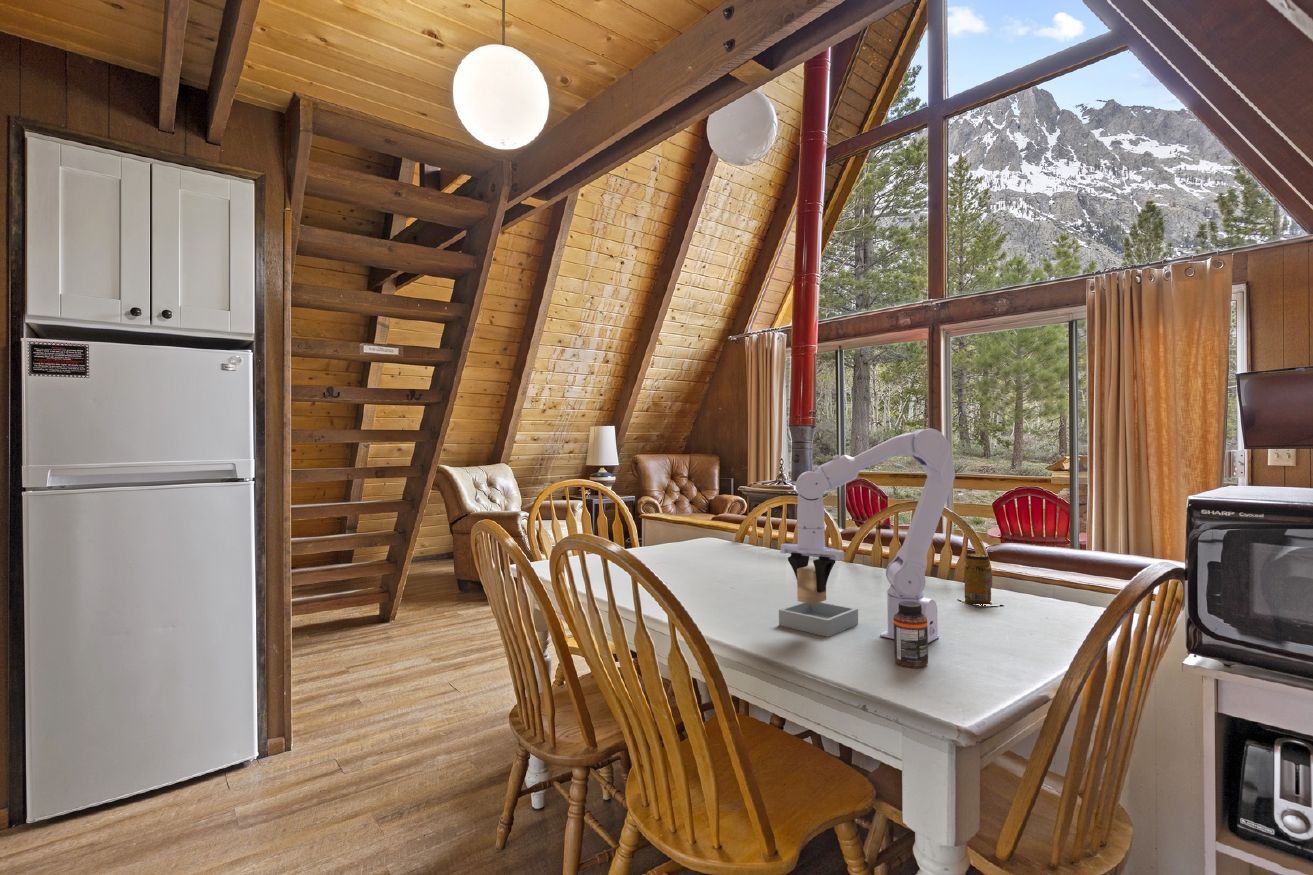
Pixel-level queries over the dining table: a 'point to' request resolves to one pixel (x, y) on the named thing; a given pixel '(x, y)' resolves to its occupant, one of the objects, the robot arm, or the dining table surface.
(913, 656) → the supplement bottle
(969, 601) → the condiment
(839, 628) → the tray
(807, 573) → the carton
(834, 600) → the dining table surface
